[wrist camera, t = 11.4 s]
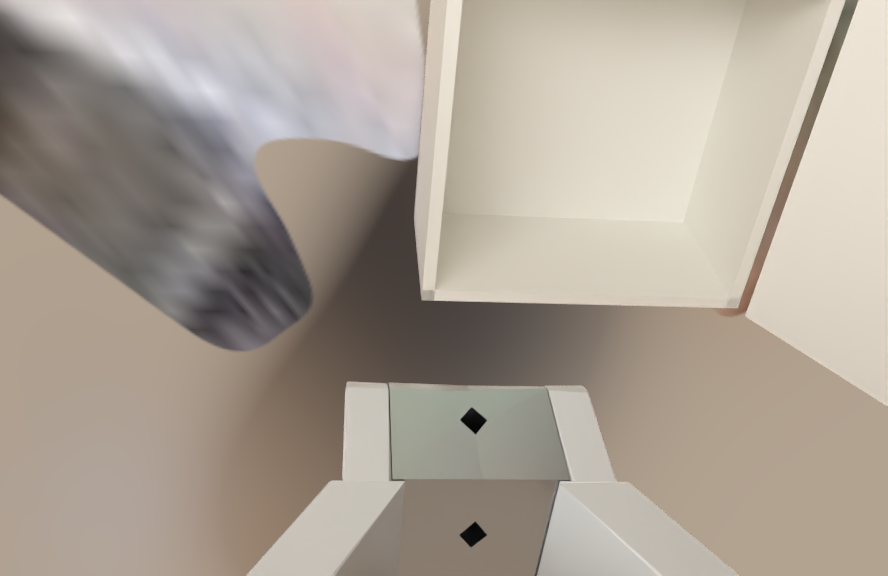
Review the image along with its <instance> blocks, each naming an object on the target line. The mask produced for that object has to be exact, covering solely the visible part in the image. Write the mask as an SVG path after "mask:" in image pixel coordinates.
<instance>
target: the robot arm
mask: <svg viewBox="0 0 888 576" xmlns="http://www.w3.org/2000/svg"><path fill="white" fill-rule="evenodd" d="M246 576H740V575H739V574H737V573H736V572H735V571H734V570H733V569H732V568H730V567H729V566H728V565H727V564H725V563H724V562H723V561H722V560H721V559H720V558H719V557H717V556H716V555H715V554H714V553H712V552H711V551H710V550H709V549H708V548H707V547H706V546H704V545H703V544H702V543H701V542H699V541H698V540H697V539H696V538H695V537H694V536H692V535H691V534H690V533H689V532H688V531H687V530H685V529H684V528H683V527H682V526H681V525H679V524H678V523H677V522H676V521H675V520H674V519H672V518H671V517H670V516H669V515H667V514H666V513H665V512H664V511H663V510H662V509H661V508H659V507H658V506H657V505H656V504H655V503H653V502H652V501H651V500H650V499H649V498H648V497H646V496H645V495H644V494H643V493H642V492H640V491H639V490H638V489H637V488H636V487H634V486H633V485H632V484H631V483H630V482H617V479H616V476H615V473H614V470H613V467H612V464H611V460H610V457H609V454H608V451H607V448H606V446H605V442H604V439H603V436H602V433H601V430H600V427H599V424H598V421H597V418H596V415H595V412H594V409H593V406H592V403H591V400H590V396H589V393H588V391H587V390H586V389H585V388H584V387H583V386H544V387H540V386H461V385H436V384H433V385H432V384H411V383H410V384H409V383H388V386H387V384H386V383H367V382H347V385H346V391H345V418H344V447H343V476H342V481H330V482H329V483H328V484H327V485H326V486H325V487H324V488H323V490H322V491H321V492H320V493H319V494H318V495H317V496H316V497H315V498H314V500H313V501H312V502H311V503H310V504H309V505H308V506H307V507H306V509H305V510H304V511H303V512H302V513H301V514H300V515H299V517H298V518H297V519H296V520H295V521H294V522H293V523H292V524H291V526H290V527H289V528H288V529H287V530H286V531H285V532H284V533H283V534H282V536H281V537H280V538H279V539H278V540H277V541H276V542H275V544H274V545H273V546H272V547H271V548H270V549H269V550H268V551H267V553H266V554H265V555H264V556H263V557H262V558H261V559H260V560H259V562H258V563H257V564H256V565H255V566H254V567H253V568H252V569H251V571H250V572H249V573H248V574H247V575H246Z"/></svg>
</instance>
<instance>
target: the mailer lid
mask: <svg viewBox="0 0 888 576" xmlns="http://www.w3.org/2000/svg"><path fill="white" fill-rule="evenodd" d="M745 317H747V318H748V319H750V320H751V321H753V322H755V323H756V324H758V325H759V326H761V327H763V328H764V329H766V330H767V331H769V332H771V333H772V334H774V335H775V336H777V337H779V338H780V339H782V340H783V341H785V342H786V343H788V344H789V345H791V346H793V347H794V348H796V349H797V350H799V351H801V352H802V353H804V354H805V355H807V356H808V357H810V358H812V359H813V360H815V361H816V362H818V363H819V364H821V365H823V366H824V367H826V368H827V369H829V370H831V371H832V372H834V373H835V374H837V375H838V376H840V377H842V378H843V379H845V380H846V381H848V382H849V383H851V384H853V385H854V386H856V387H857V388H859V389H861V390H862V391H864V392H865V393H867V394H869V395H870V396H872V397H873V398H875V399H876V400H878V401H880V402H881V403H883V404H884V405H886V406H887V407H888V0H859V1H858V4H857V7H856V9H855V12H854V15H853V18H852V20H851V23H850V26H849V29H848V32H847V34H846V37H845V40H844V43H843V45H842V48H841V51H840V54H839V57H838V59H837V62H836V65H835V68H834V70H833V73H832V76H831V79H830V82H829V84H828V87H827V90H826V93H825V95H824V98H823V101H822V104H821V107H820V109H819V112H818V115H817V118H816V121H815V123H814V126H813V129H812V132H811V134H810V137H809V140H808V143H807V146H806V148H805V151H804V154H803V157H802V159H801V162H800V165H799V168H798V171H797V173H796V176H795V179H794V182H793V184H792V187H791V190H790V193H789V196H788V198H787V201H786V204H785V207H784V209H783V212H782V215H781V218H780V221H779V223H778V226H777V229H776V232H775V234H774V237H773V240H772V243H771V246H770V248H769V251H768V254H767V257H766V259H765V262H764V265H763V268H762V271H761V273H760V276H759V279H758V282H757V284H756V287H755V290H754V293H753V296H752V298H751V301H750V304H749V307H748V309H747V312H746V315H745Z"/></svg>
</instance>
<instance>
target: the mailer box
mask: <svg viewBox="0 0 888 576" xmlns="http://www.w3.org/2000/svg"><path fill="white" fill-rule="evenodd" d="M845 1H846V0H430V9H429V22H428V36H427V49H426V62H425V76H424V89H423V103H422V116H421V129H420V143H419V156H418V170H417V183H416V196H415V209H414V210H415V211H414V224H415V235H416V245H417V257H418V267H419V279H420V290H421V299H422V300H435V301H474V302H512V303H549V304H550V303H551V304H588V305H589V304H590V305H626V306H627V305H628V306H666V307H703V308H704V307H705V308H738V306H739V303H740V300H741V297H742V294H743V291H744V289H745V286H746V283H747V280H748V277H749V274H750V271H751V269H752V266H753V263H754V260H755V257H756V254H757V252H758V249H759V246H760V243H761V240H762V237H763V234H764V232H765V229H766V226H767V223H768V220H769V217H770V215H771V212H772V209H773V206H774V203H775V200H776V197H777V195H778V192H779V189H780V186H781V183H782V180H783V177H784V175H785V172H786V169H787V166H788V163H789V160H790V158H791V155H792V152H793V149H794V146H795V143H796V140H797V138H798V135H799V132H800V129H801V126H802V123H803V121H804V118H805V115H806V112H807V109H808V106H809V103H810V101H811V98H812V95H813V92H814V89H815V86H816V84H817V81H818V78H819V75H820V72H821V69H822V66H823V64H824V61H825V58H826V55H827V52H828V49H829V46H830V44H831V41H832V38H833V35H834V32H835V29H836V27H837V24H838V21H839V18H840V15H841V12H842V9H843V7H844V4H845Z"/></svg>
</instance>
